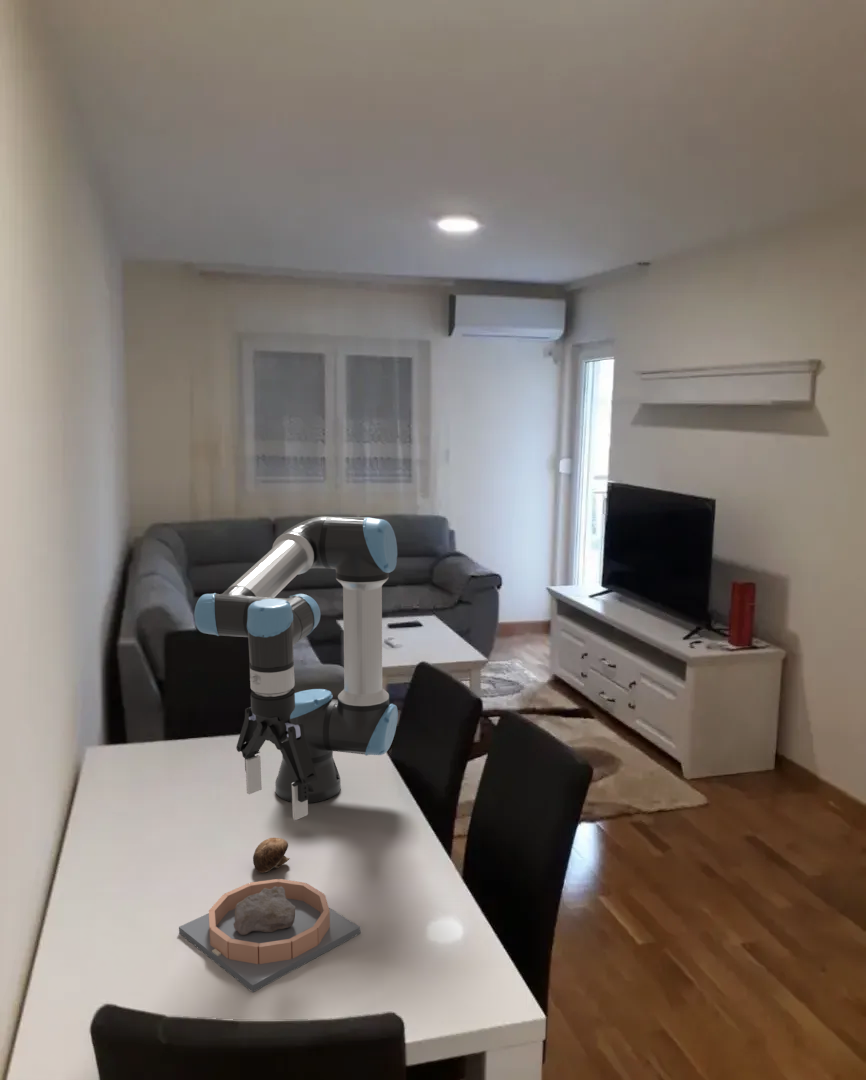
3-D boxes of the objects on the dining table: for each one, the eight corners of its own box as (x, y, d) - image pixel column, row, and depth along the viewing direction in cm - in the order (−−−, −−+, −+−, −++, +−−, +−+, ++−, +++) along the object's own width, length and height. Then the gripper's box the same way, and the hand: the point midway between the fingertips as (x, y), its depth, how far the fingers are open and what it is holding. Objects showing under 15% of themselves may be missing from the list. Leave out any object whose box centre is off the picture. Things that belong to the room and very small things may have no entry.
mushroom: (304, 846, 180) (284, 825, 178) (287, 879, 173) (266, 857, 171) (278, 855, 184) (258, 834, 182) (260, 887, 177) (239, 866, 176)
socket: (283, 884, 172) (283, 864, 171) (360, 933, 157) (360, 910, 156) (179, 933, 156) (178, 910, 156) (252, 992, 141) (252, 967, 140)
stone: (249, 948, 150) (248, 916, 149) (228, 926, 156) (226, 894, 155) (301, 928, 156) (300, 896, 155) (279, 907, 162) (278, 876, 161)
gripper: (213, 677, 163) (219, 788, 167) (299, 714, 145) (303, 836, 149) (248, 667, 168) (253, 775, 172) (335, 702, 151) (338, 820, 155)
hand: (276, 803), depth 161 cm, fingers open, 13 cm apart
